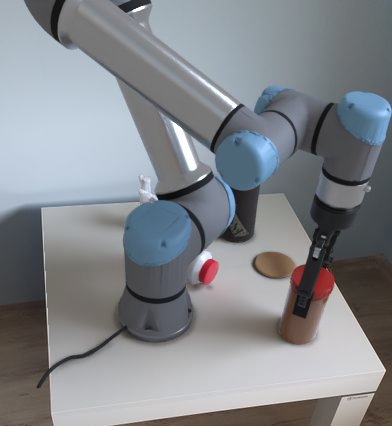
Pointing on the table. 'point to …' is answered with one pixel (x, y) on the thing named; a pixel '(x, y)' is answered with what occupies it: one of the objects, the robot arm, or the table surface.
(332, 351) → the table surface
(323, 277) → the jar lid
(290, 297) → the sauce jar
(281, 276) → the coaster
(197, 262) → the pill bottle
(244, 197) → the container
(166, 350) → the table surface
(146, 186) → the koala figurine
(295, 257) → the table surface
